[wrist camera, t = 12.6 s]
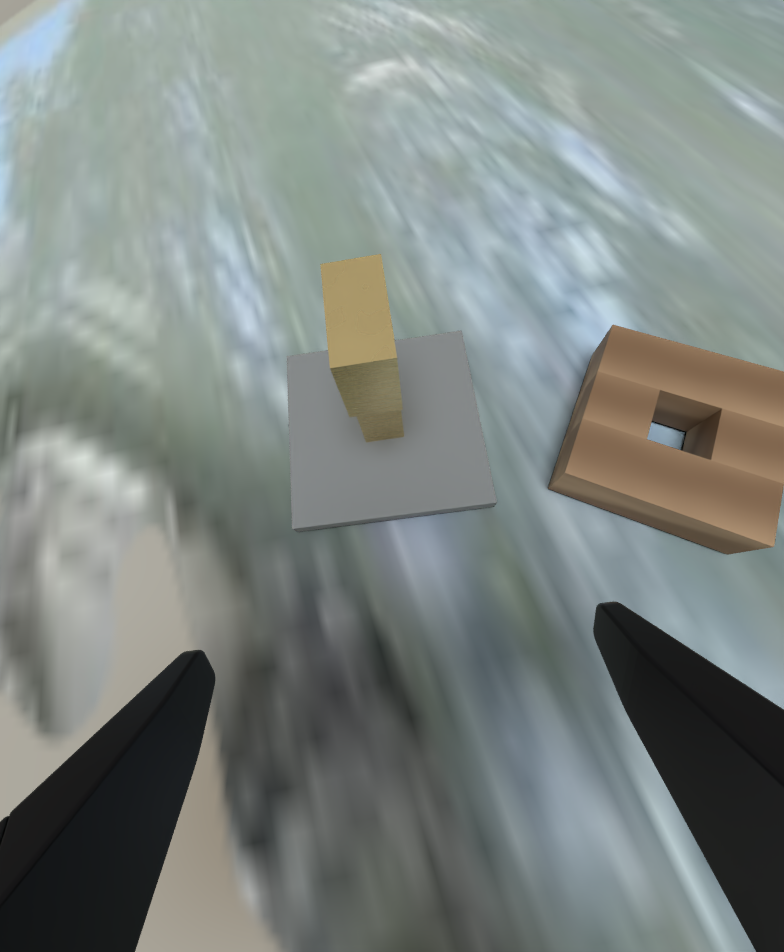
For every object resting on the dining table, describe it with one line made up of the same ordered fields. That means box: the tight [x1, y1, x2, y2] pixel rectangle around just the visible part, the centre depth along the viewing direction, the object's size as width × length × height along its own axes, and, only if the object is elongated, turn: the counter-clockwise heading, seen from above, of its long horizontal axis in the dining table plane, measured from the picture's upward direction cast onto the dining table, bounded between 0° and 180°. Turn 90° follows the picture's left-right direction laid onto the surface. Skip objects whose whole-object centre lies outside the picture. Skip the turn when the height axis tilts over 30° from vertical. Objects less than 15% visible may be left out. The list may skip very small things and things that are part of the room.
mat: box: [287, 331, 497, 532], centre depth 25 cm, size 12×12×1 cm
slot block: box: [548, 325, 784, 554], centre depth 22 cm, size 10×10×3 cm
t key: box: [321, 254, 404, 442], centre depth 20 cm, size 5×2×10 cm, turn 8°
